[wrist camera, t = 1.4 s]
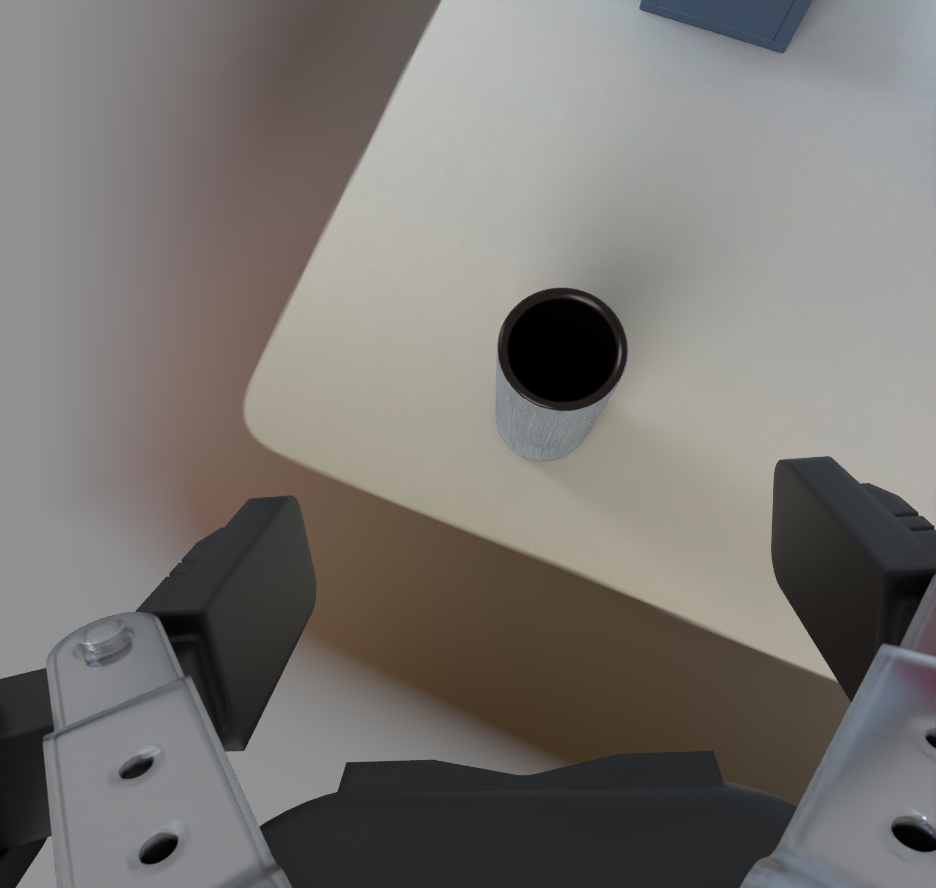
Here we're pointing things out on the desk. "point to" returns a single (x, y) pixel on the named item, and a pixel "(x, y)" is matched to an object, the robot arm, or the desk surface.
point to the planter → (556, 370)
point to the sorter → (738, 18)
